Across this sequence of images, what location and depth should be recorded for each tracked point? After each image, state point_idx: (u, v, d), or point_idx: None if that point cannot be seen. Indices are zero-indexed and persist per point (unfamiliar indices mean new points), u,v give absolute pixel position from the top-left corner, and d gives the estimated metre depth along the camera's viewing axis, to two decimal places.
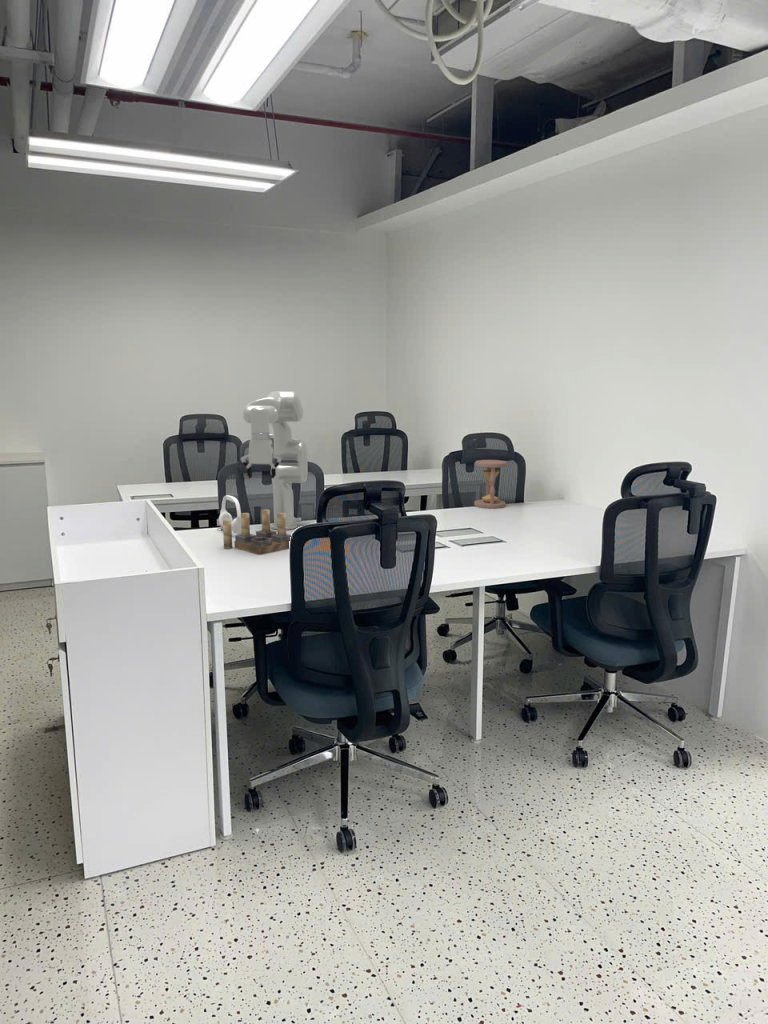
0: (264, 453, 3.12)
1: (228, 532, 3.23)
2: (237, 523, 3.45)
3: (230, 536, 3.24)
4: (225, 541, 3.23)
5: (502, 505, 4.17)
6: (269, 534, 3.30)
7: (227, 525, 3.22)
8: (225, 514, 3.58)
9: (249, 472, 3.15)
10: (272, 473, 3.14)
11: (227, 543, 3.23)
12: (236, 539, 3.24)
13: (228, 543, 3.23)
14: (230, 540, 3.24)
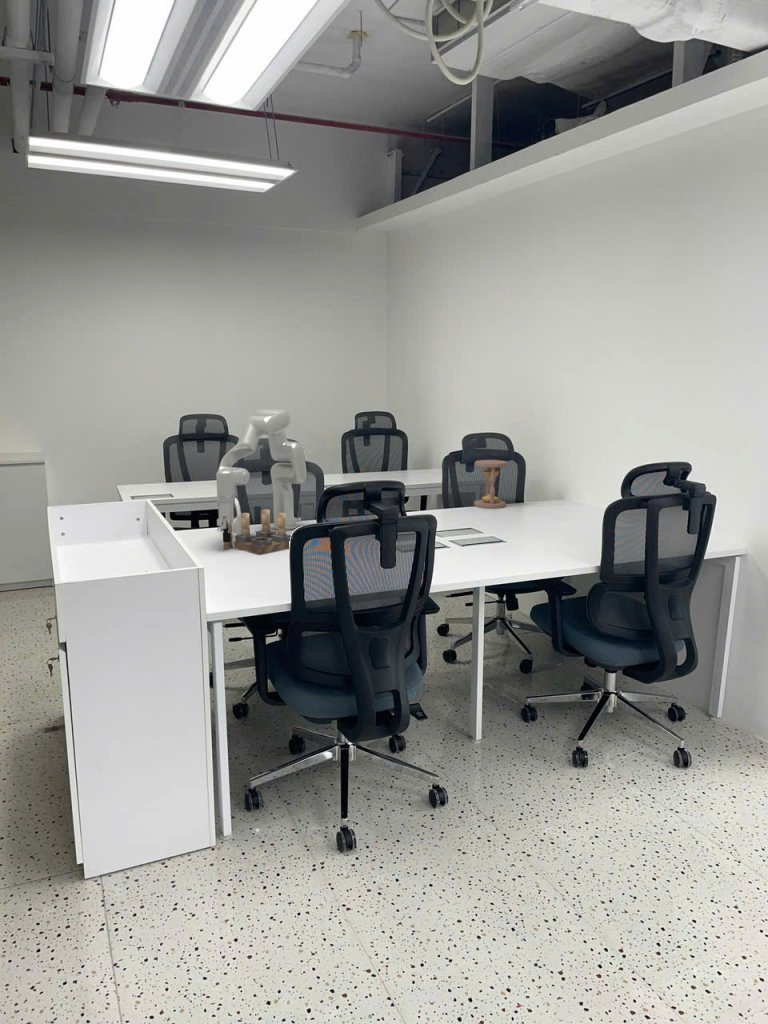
0: None
1: None
2: (237, 523, 3.45)
3: None
4: None
5: (502, 505, 4.17)
6: (269, 534, 3.30)
7: (227, 525, 3.22)
8: None
9: (230, 536, 3.23)
10: None
11: (227, 543, 3.23)
12: (236, 539, 3.24)
13: (228, 543, 3.23)
14: None
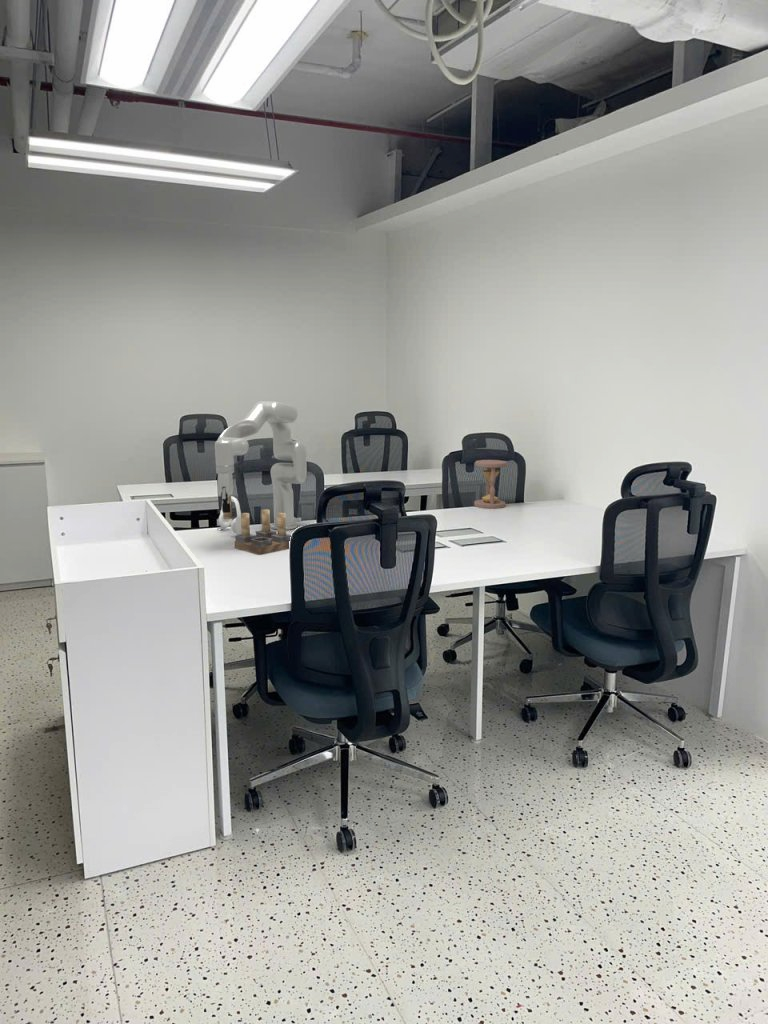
0: (232, 483, 3.23)
1: None
2: (237, 523, 3.45)
3: (230, 507, 3.22)
4: None
5: (502, 505, 4.17)
6: (269, 534, 3.30)
7: None
8: None
9: None
10: (231, 505, 3.25)
11: (227, 514, 3.21)
12: (236, 539, 3.24)
13: (227, 513, 3.22)
14: (230, 511, 3.22)
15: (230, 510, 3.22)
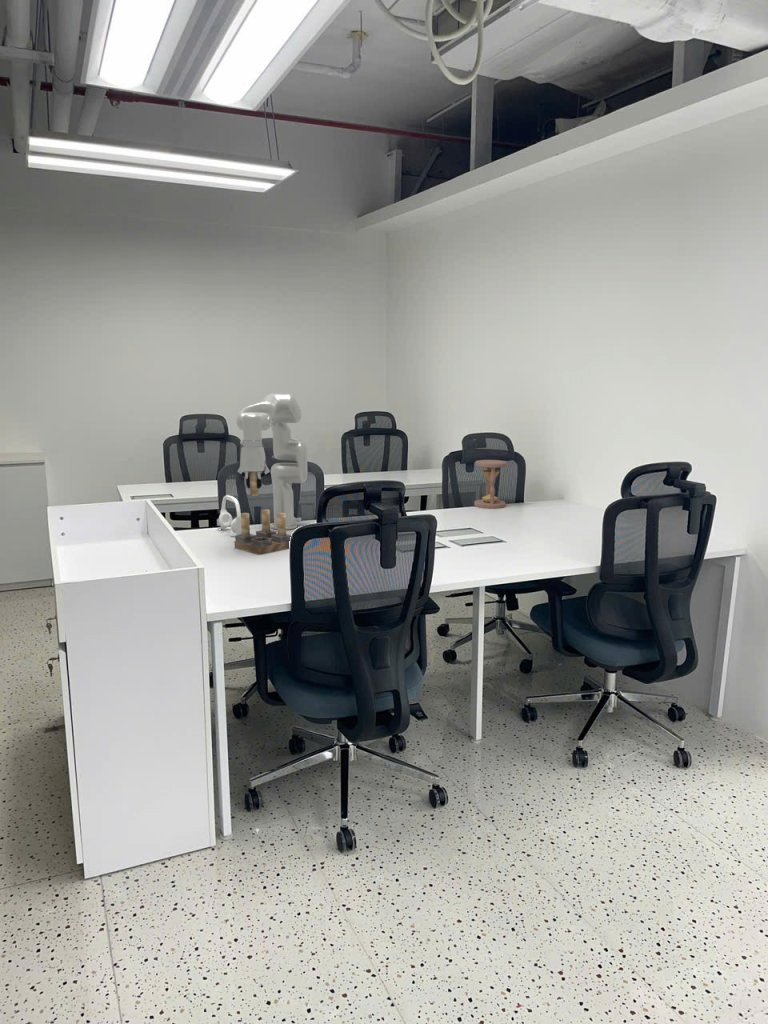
0: None
1: None
2: (237, 523, 3.44)
3: None
4: (257, 488, 3.13)
5: (502, 505, 4.17)
6: (269, 534, 3.30)
7: None
8: (225, 514, 3.58)
9: None
10: None
11: None
12: (236, 539, 3.24)
13: None
14: None
15: None
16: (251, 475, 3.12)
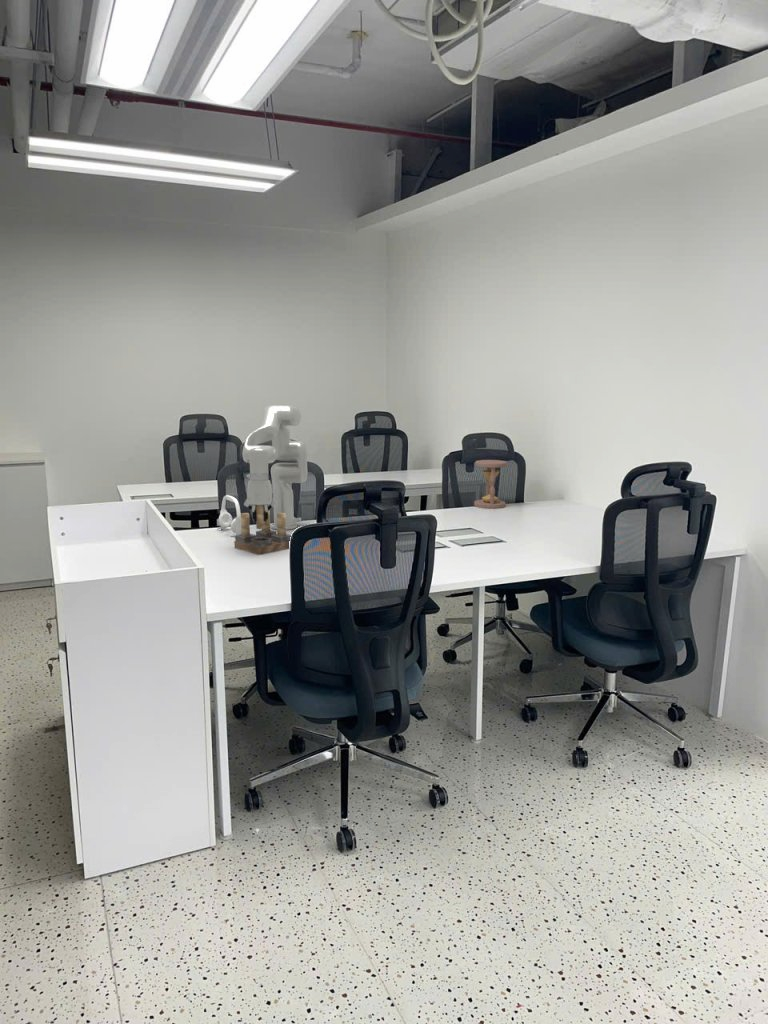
0: None
1: None
2: (237, 523, 3.44)
3: None
4: (264, 521, 3.15)
5: (502, 505, 4.17)
6: (269, 534, 3.30)
7: None
8: (225, 514, 3.58)
9: None
10: None
11: (264, 522, 3.16)
12: (236, 539, 3.24)
13: None
14: None
15: None
16: (258, 508, 3.13)
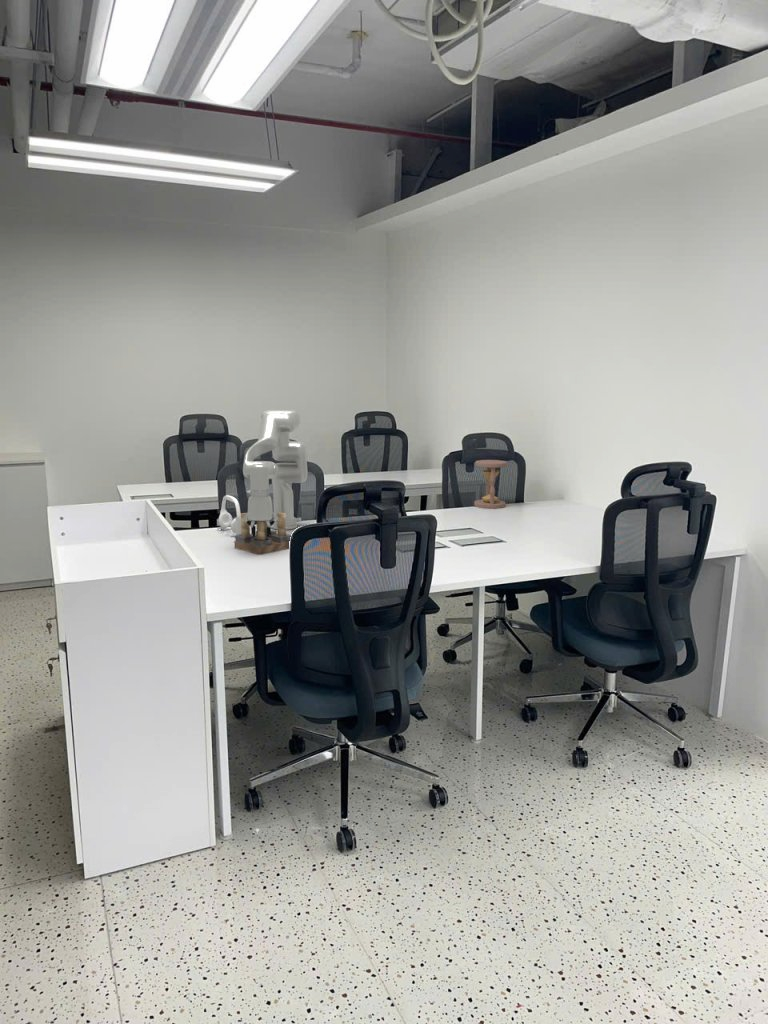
0: None
1: None
2: (237, 523, 3.44)
3: None
4: (264, 538, 3.17)
5: (502, 505, 4.17)
6: (269, 534, 3.30)
7: None
8: (225, 514, 3.58)
9: None
10: None
11: (265, 539, 3.17)
12: (236, 539, 3.24)
13: None
14: None
15: None
16: (259, 525, 3.14)
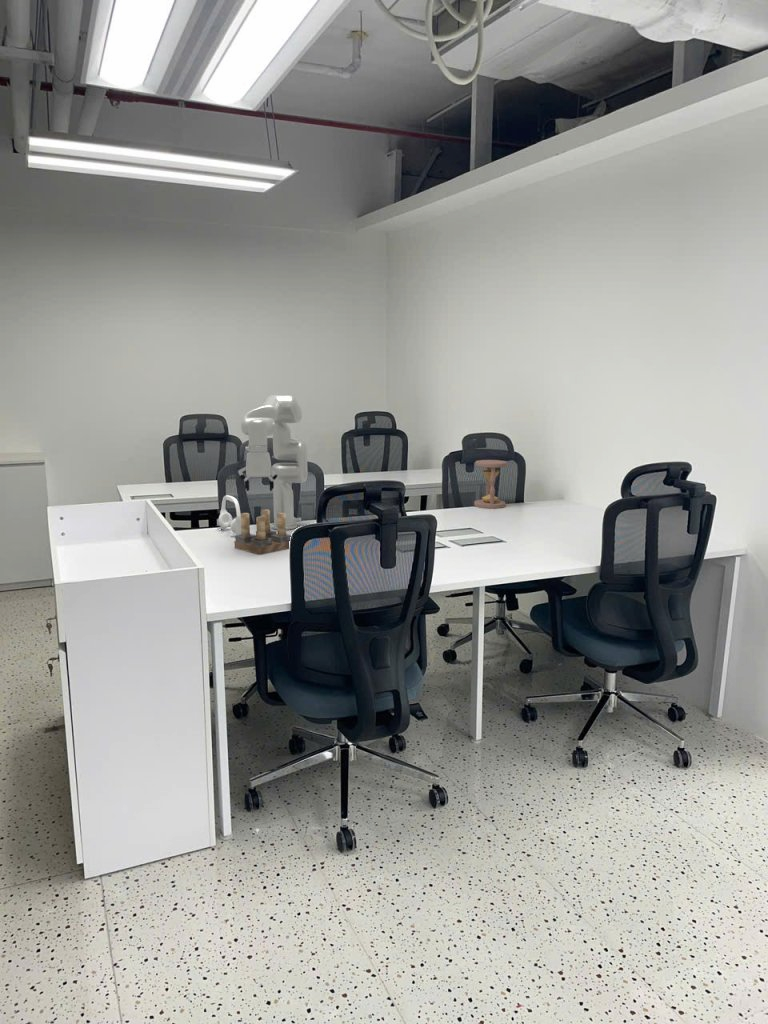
0: None
1: None
2: (236, 523, 3.44)
3: None
4: (264, 538, 3.17)
5: (502, 505, 4.17)
6: (269, 534, 3.30)
7: None
8: (225, 514, 3.58)
9: None
10: None
11: (265, 539, 3.17)
12: (236, 539, 3.24)
13: None
14: None
15: None
16: (259, 526, 3.14)
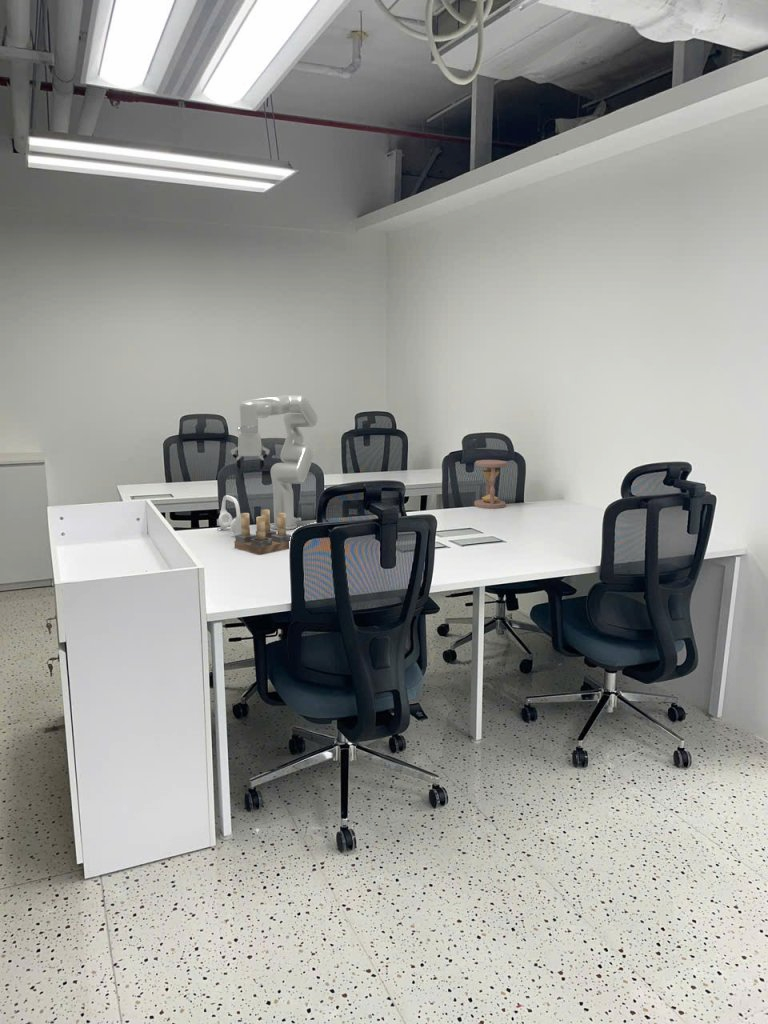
0: None
1: None
2: (236, 523, 3.44)
3: None
4: (264, 538, 3.17)
5: (502, 505, 4.17)
6: (269, 534, 3.30)
7: None
8: (225, 514, 3.58)
9: None
10: None
11: (265, 539, 3.17)
12: (236, 539, 3.24)
13: None
14: None
15: None
16: (259, 525, 3.14)
